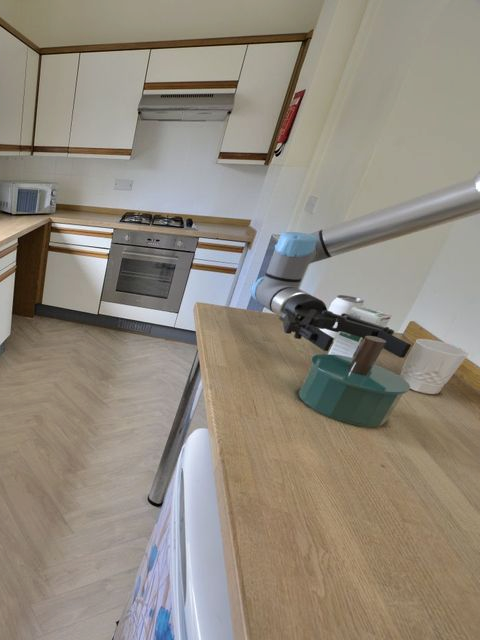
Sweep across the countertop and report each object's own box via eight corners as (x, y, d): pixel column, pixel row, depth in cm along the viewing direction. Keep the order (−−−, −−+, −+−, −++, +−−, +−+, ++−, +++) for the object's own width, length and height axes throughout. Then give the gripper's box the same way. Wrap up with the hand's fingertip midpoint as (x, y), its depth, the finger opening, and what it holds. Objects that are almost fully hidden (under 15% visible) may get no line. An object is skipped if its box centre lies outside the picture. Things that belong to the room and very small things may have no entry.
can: (325, 342, 112) (345, 301, 106) (311, 333, 117) (329, 293, 112) (351, 345, 111) (372, 303, 106) (336, 335, 117) (355, 295, 111)
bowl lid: (403, 377, 81) (425, 339, 77) (410, 407, 70) (436, 366, 67) (312, 352, 89) (328, 317, 85) (306, 376, 79) (324, 338, 75)
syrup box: (322, 362, 101) (349, 307, 94) (336, 358, 103) (363, 304, 96) (349, 373, 96) (379, 316, 90) (363, 369, 98) (393, 313, 92)
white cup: (393, 373, 97) (415, 335, 92) (441, 387, 92) (467, 347, 87) (392, 385, 92) (415, 345, 87) (442, 400, 87) (470, 359, 82)
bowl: (383, 406, 83) (401, 374, 80) (386, 436, 74) (407, 402, 71) (302, 381, 91) (316, 351, 88) (295, 405, 82) (310, 373, 79)
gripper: (347, 327, 97) (427, 371, 78) (238, 318, 99) (290, 359, 80) (362, 297, 94) (449, 336, 75) (249, 289, 96) (305, 324, 77)
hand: (367, 348), depth 78 cm, fingers open, 13 cm apart
